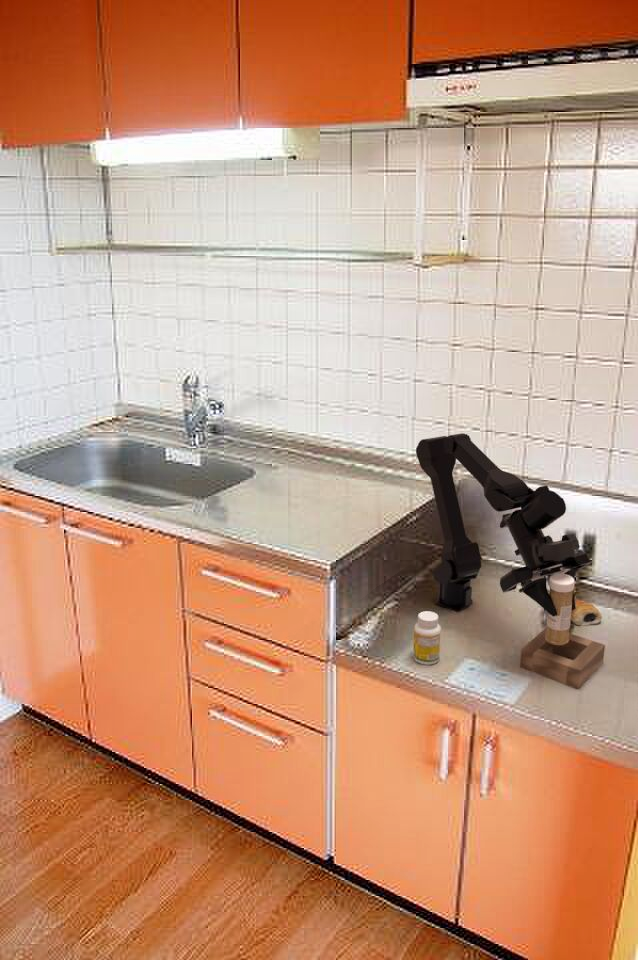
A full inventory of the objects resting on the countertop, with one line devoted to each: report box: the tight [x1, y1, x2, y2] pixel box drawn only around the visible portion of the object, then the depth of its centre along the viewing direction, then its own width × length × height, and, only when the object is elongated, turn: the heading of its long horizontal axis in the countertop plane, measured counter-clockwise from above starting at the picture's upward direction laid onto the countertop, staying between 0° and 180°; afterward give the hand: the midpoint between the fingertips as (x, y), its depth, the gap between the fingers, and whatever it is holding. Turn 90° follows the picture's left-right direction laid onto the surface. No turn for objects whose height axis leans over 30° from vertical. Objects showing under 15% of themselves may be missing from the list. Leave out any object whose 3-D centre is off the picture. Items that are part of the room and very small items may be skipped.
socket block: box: [519, 627, 606, 690], centre depth 156 cm, size 12×12×4 cm
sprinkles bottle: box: [545, 573, 575, 645], centre depth 150 cm, size 5×5×13 cm
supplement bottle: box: [412, 610, 442, 666], centre depth 157 cm, size 5×5×10 cm
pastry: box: [570, 598, 603, 627], centre depth 175 cm, size 9×7×4 cm
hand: (564, 612), depth 149 cm, fingers closed on sprinkles bottle, 4 cm apart
